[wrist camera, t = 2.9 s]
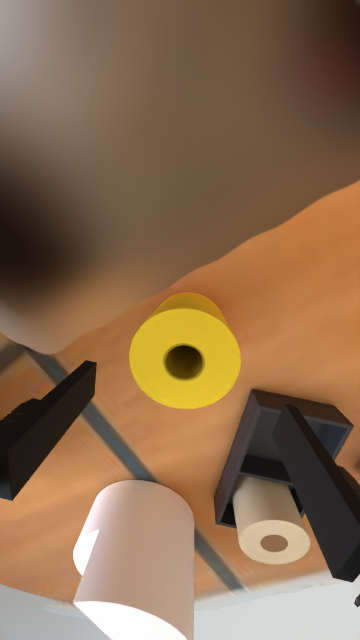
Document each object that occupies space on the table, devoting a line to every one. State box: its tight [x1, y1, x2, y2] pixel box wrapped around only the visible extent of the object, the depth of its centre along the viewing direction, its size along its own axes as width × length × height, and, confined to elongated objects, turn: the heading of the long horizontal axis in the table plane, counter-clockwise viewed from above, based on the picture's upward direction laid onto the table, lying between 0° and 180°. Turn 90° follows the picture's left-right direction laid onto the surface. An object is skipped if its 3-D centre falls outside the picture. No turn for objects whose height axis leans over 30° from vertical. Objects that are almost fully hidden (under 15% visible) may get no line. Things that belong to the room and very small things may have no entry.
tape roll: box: [129, 292, 241, 409], centre depth 22 cm, size 10×10×9 cm
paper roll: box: [231, 474, 310, 564], centre depth 29 cm, size 9×9×7 cm
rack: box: [214, 389, 354, 529], centre depth 30 cm, size 12×24×4 cm, turn 170°
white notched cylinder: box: [73, 480, 194, 640], centre depth 32 cm, size 20×20×13 cm
